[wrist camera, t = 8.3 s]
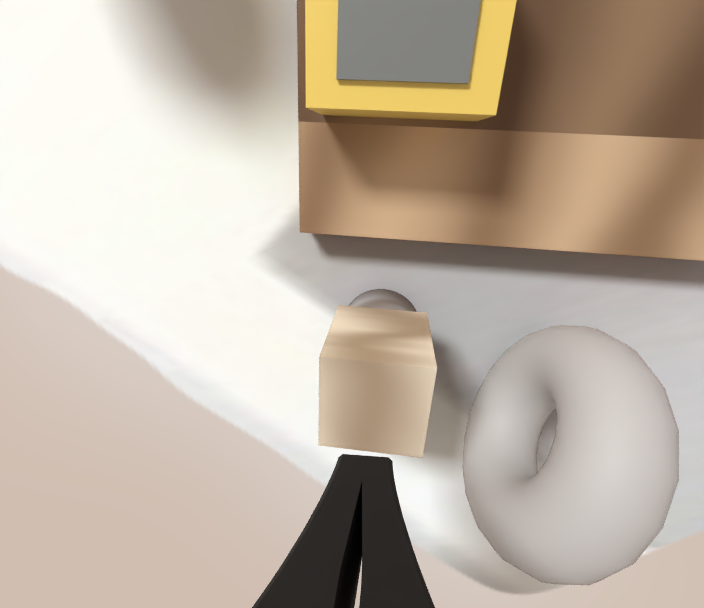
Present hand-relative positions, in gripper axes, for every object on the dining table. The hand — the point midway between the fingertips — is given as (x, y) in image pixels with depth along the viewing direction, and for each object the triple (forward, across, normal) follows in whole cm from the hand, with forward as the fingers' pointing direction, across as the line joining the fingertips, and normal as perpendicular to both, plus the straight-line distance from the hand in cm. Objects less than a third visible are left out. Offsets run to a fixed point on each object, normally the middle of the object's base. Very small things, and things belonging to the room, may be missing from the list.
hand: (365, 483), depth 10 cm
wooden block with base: (+10, 0, 0) cm, 11 cm away
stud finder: (+9, -1, -12) cm, 15 cm away
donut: (+11, -7, +3) cm, 13 cm away
